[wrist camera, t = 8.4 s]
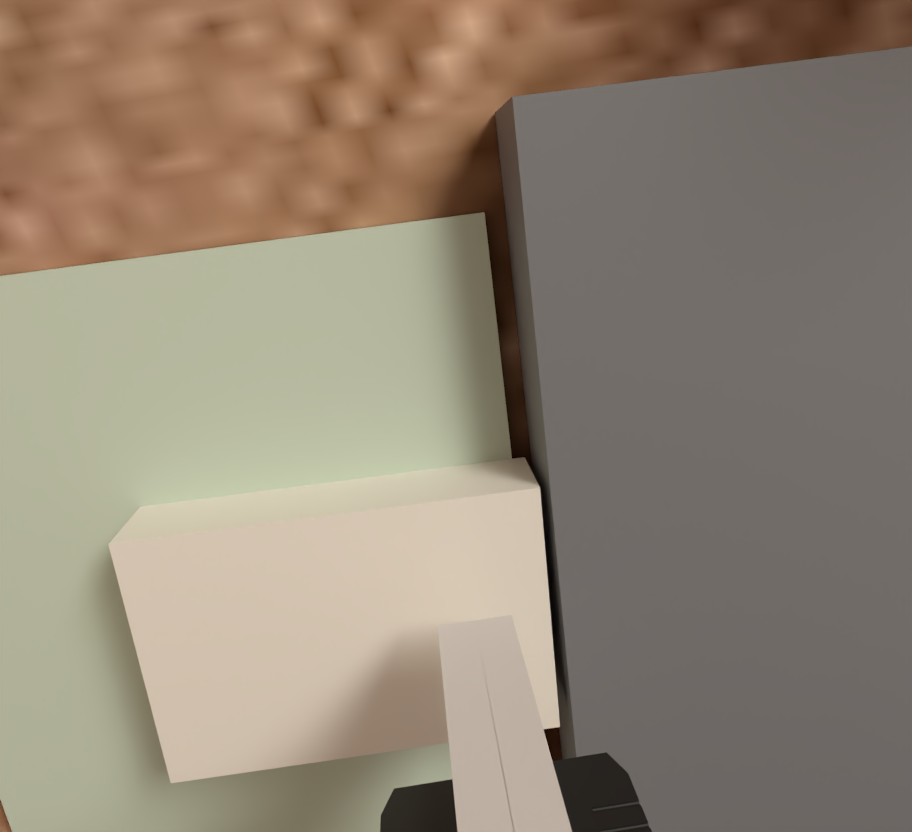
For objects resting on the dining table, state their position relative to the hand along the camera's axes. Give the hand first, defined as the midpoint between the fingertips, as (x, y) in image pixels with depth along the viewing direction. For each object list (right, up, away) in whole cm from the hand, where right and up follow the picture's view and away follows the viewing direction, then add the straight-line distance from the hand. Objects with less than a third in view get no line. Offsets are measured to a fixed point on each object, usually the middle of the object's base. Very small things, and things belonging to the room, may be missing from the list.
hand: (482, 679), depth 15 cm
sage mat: (-6, 0, +4) cm, 7 cm away
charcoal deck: (+9, +2, +4) cm, 10 cm away
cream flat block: (-3, +1, +3) cm, 5 cm away
